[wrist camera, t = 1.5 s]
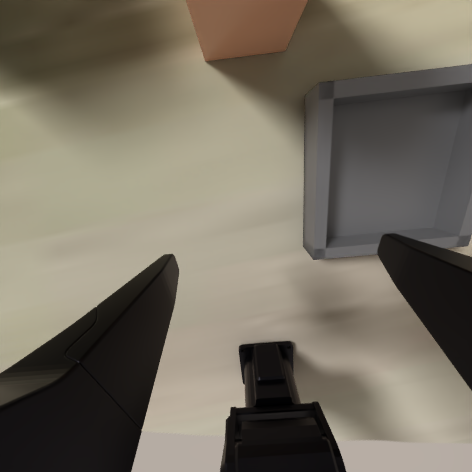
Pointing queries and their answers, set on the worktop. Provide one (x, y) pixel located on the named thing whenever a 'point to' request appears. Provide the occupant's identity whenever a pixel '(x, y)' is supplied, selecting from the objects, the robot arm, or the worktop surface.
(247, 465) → the robot arm
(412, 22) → the worktop surface
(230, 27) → the peach block
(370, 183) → the tray
